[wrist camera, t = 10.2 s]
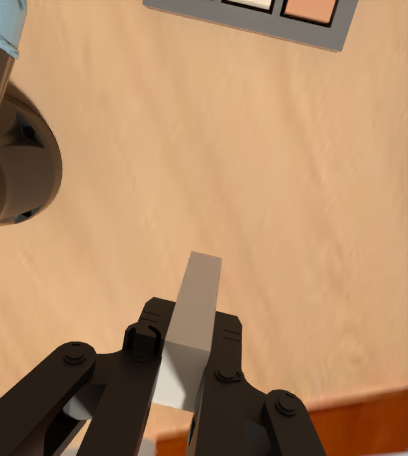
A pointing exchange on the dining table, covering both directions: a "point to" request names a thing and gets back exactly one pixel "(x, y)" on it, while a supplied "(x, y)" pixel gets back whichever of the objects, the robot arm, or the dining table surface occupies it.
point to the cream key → (254, 3)
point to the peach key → (310, 10)
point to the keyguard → (266, 20)
